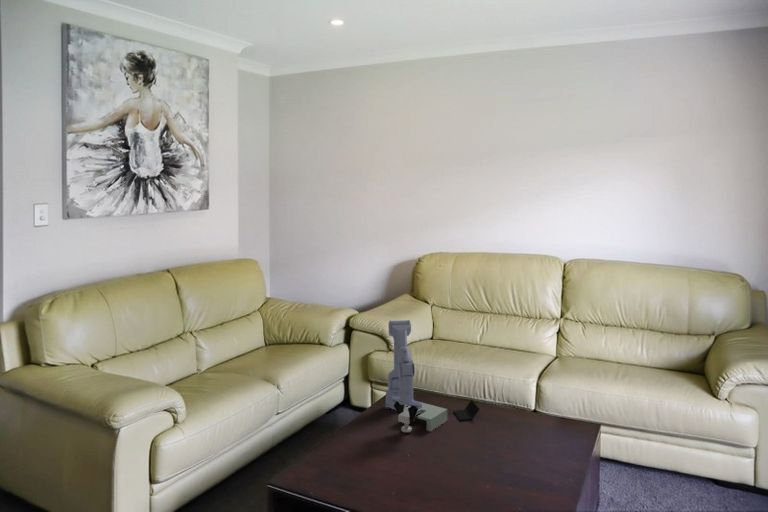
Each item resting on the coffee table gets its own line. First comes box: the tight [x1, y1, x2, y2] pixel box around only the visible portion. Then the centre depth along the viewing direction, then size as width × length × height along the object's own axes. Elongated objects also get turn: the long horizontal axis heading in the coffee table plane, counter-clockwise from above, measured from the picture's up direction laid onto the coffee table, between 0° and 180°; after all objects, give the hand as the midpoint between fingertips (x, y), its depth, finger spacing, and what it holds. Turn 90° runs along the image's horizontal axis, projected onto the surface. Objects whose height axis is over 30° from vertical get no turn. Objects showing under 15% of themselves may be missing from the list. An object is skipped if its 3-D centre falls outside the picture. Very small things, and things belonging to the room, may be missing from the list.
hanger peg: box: [397, 411, 416, 433], centre depth 246 cm, size 5×5×7 cm
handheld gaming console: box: [452, 400, 480, 422], centre depth 263 cm, size 12×7×10 cm
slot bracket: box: [404, 400, 448, 432], centre depth 256 cm, size 16×14×6 cm
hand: (406, 420), depth 245 cm, fingers closed on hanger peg, 5 cm apart
